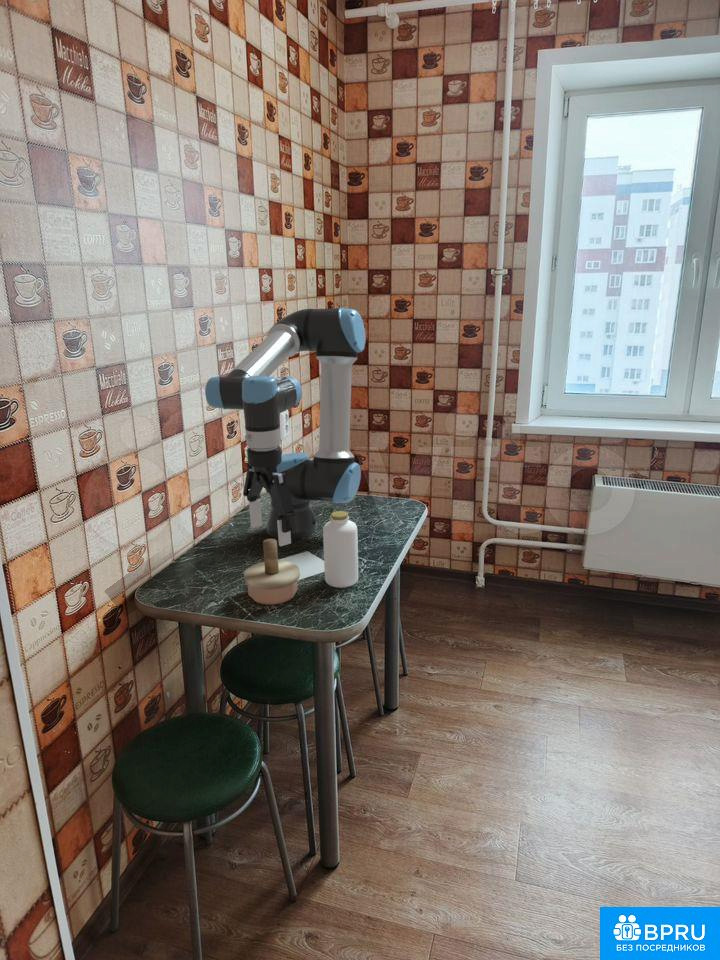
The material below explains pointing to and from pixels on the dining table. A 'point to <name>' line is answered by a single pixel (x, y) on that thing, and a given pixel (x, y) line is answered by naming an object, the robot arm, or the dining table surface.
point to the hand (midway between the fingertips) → (270, 535)
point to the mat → (306, 564)
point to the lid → (271, 570)
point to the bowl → (273, 594)
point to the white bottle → (340, 551)
